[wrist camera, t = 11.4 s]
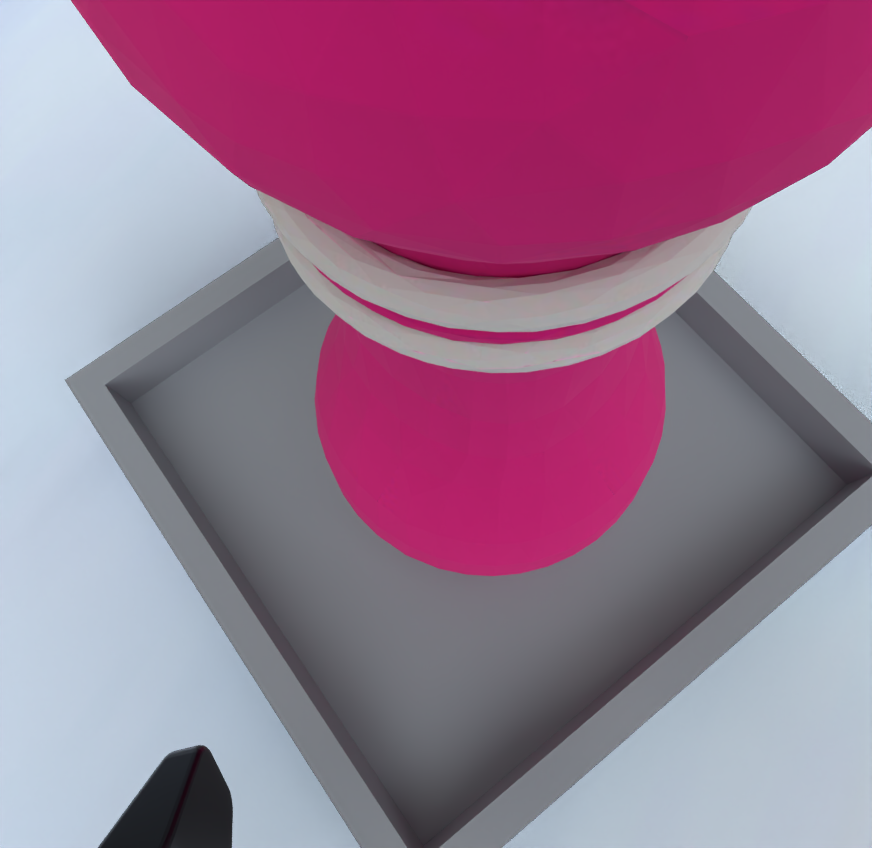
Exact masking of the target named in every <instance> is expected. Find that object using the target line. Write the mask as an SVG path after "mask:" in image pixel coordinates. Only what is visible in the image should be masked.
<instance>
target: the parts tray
mask: <svg viewBox="0 0 872 848" xmlns="http://www.w3.org/2000/svg"><path fill="white" fill-rule="evenodd" d="M334 316H335V313H334V312H333V311H332V310H331V309H330V308H329V307H327V306H326V305H325V304H324V303H323V302H322V301H321V300H320V299H319V298H318V297H316V296H315V295H314V293H313V292H312V291H311V290H310V289H309V287H308V286H307V285H306V284H305V282H304V281H303V280H302V279H301V277H300V276H299V274H298V273H297V271H296V270H295V268H294V267H293V265H292V264H291V262H290V260H289V258H288V256H287V254H286V251H285V249H284V247H283V245H282V243H281V241H280V239H279V238H277V239H276V240H274V241H273V242H271V243H270V244H268V245H267V246H265V247H264V248H262V249H261V250H259V251H258V252H256V253H255V254H253V255H252V256H250V257H249V258H247V259H246V260H244V261H243V262H241V263H240V264H238V265H237V266H235V267H234V268H232V269H231V270H229V271H228V272H226V273H225V274H223V275H222V276H220V277H219V278H217V279H216V280H214V281H213V282H211V283H210V284H208V285H207V286H205V287H204V288H202V289H201V290H199V291H198V292H196V293H195V294H193V295H192V296H190V297H189V298H187V299H186V300H184V301H183V302H181V303H180V304H178V305H177V306H175V307H174V308H172V309H171V310H169V311H168V312H166V313H165V314H163V315H162V316H160V317H159V318H157V319H156V320H154V321H153V322H151V323H150V324H148V325H147V326H145V327H144V328H142V329H141V330H139V331H138V332H136V333H135V334H133V335H132V336H130V337H129V338H127V339H126V340H124V341H123V342H121V343H120V344H118V345H117V346H115V347H114V348H112V349H111V350H109V351H108V352H106V353H105V354H103V355H102V356H100V357H99V358H97V359H96V360H94V361H93V362H91V363H90V364H88V365H87V366H85V367H84V368H82V369H81V370H79V371H78V372H76V373H75V374H73V375H72V376H70V377H69V378H67V379H66V380H65V381H66V383H67V385H68V386H69V388H70V389H71V391H72V392H73V394H74V396H75V397H76V399H77V400H78V402H79V403H80V405H81V407H82V408H83V410H84V411H85V413H86V414H87V416H88V418H89V419H90V421H91V422H92V424H93V426H94V427H95V429H96V430H97V432H98V433H99V435H100V437H101V438H102V440H103V441H104V443H105V444H106V446H107V448H108V449H109V451H110V452H111V454H112V456H113V457H114V459H115V460H116V462H117V463H118V465H119V467H120V468H121V470H122V471H123V473H124V474H125V476H126V478H127V479H128V481H129V482H130V484H131V486H132V487H133V489H134V490H135V492H136V493H137V495H138V497H139V498H140V500H141V501H142V503H143V504H144V506H145V508H146V509H147V511H148V512H149V514H150V516H151V517H152V519H153V520H154V522H155V523H156V525H157V527H158V528H159V530H160V531H161V533H162V534H163V536H164V538H165V539H166V541H167V542H168V544H169V545H170V547H171V549H172V550H173V552H174V553H175V555H176V557H177V558H178V560H179V561H180V563H181V564H182V566H183V568H184V569H185V571H186V572H187V574H188V575H189V577H190V579H191V580H192V582H193V583H194V585H195V587H196V588H197V590H198V591H199V593H200V594H201V596H202V598H203V599H204V601H205V602H206V604H207V605H208V607H209V609H210V610H211V612H212V613H213V615H214V617H215V618H216V620H217V621H218V623H219V624H220V626H221V628H222V629H223V631H224V632H225V634H226V635H227V637H228V639H229V640H230V642H231V643H232V645H233V646H234V648H235V650H236V651H237V653H238V654H239V656H240V658H241V659H242V661H243V662H244V664H245V665H246V667H247V669H248V670H249V672H250V673H251V675H252V676H253V678H254V680H255V681H256V683H257V684H258V686H259V688H260V689H261V691H262V692H263V694H264V695H265V697H266V699H267V700H268V702H269V703H270V705H271V706H272V708H273V710H274V711H275V713H276V714H277V716H278V718H279V719H280V721H281V722H282V724H283V725H284V727H285V729H286V730H287V732H288V733H289V735H290V736H291V738H292V740H293V741H294V743H295V744H296V746H297V747H298V749H299V751H300V752H301V754H302V755H303V757H304V759H305V760H306V762H307V763H308V765H309V766H310V768H311V770H312V771H313V773H314V774H315V776H316V777H317V779H318V781H319V782H320V784H321V785H322V787H323V789H324V790H325V792H326V793H327V795H328V796H329V798H330V800H331V801H332V803H333V804H334V806H335V807H336V809H337V811H338V812H339V814H340V815H341V817H342V819H343V820H344V822H345V823H346V825H347V826H348V828H349V830H350V831H351V833H352V834H353V836H354V837H355V839H356V841H357V842H358V844H359V845H360V847H361V848H502V847H503V846H504V845H505V844H506V843H508V842H509V841H510V840H511V839H512V838H513V837H514V836H516V835H517V834H518V833H519V832H520V831H521V830H522V829H524V828H525V827H526V826H527V825H528V824H529V823H530V822H532V821H533V820H534V819H535V818H536V817H537V816H538V815H540V814H541V813H542V812H543V811H544V810H545V809H547V808H548V807H549V806H550V805H551V804H552V803H553V802H555V801H556V800H557V799H558V798H559V797H560V796H561V795H563V794H564V793H565V792H566V791H567V790H568V789H569V788H571V787H572V786H573V785H574V784H575V783H576V782H577V781H579V780H580V779H581V778H582V777H583V776H584V775H586V774H587V773H588V772H589V771H590V770H591V769H592V768H594V767H595V766H596V765H597V764H598V763H599V762H600V761H602V760H603V759H604V758H605V757H606V756H607V755H608V754H610V753H611V752H612V751H613V750H614V749H615V748H616V747H618V746H619V745H620V744H621V743H622V742H623V741H625V740H626V739H627V738H628V737H629V736H630V735H631V734H633V733H634V732H635V731H636V730H637V729H638V728H639V727H641V726H642V725H643V724H644V723H645V722H646V721H647V720H649V719H650V718H651V717H652V716H653V715H654V714H655V713H657V712H658V711H659V710H660V709H661V708H662V707H664V706H665V705H666V704H667V703H668V702H669V701H670V700H672V699H673V698H674V697H675V696H676V695H677V694H678V693H680V692H681V691H682V690H683V689H684V688H685V687H686V686H688V685H689V684H690V683H691V682H692V681H693V680H695V679H696V678H697V677H698V676H699V675H700V674H701V673H703V672H704V671H705V670H706V669H707V668H708V667H709V666H711V665H712V664H713V663H714V662H715V661H716V660H717V659H719V658H720V657H721V656H722V655H723V654H724V653H725V652H727V651H728V650H729V649H730V648H731V647H732V646H734V645H735V644H736V643H737V642H738V641H739V640H740V639H742V638H743V637H744V636H745V635H746V634H747V633H748V632H750V631H751V630H752V629H753V628H754V627H755V626H756V625H758V624H759V623H760V622H761V621H762V620H763V619H764V618H766V617H767V616H768V615H769V614H770V613H771V612H773V611H774V610H775V609H776V608H777V607H778V606H779V605H781V604H782V603H783V602H784V601H785V600H786V599H787V598H789V597H790V596H791V595H792V594H793V593H794V592H795V591H797V590H798V589H799V588H800V587H801V586H802V585H803V584H805V583H806V582H807V581H808V580H809V579H810V578H812V577H813V576H814V575H815V574H816V573H817V572H818V571H820V570H821V569H822V568H823V567H824V566H825V565H826V564H828V563H829V562H830V561H831V560H832V559H833V558H834V557H836V556H837V555H838V554H839V553H840V552H841V551H842V550H844V549H845V548H846V547H847V546H848V545H849V544H851V543H852V542H853V541H854V540H855V539H856V538H857V537H859V536H860V535H861V534H862V533H863V532H864V531H865V530H867V529H868V528H869V527H870V526H871V525H872V422H871V421H870V420H869V419H867V418H866V417H865V416H864V415H863V414H862V413H861V412H860V411H859V410H858V409H857V408H856V407H855V406H854V405H853V404H852V403H851V402H850V401H849V400H848V399H847V398H846V397H845V396H844V395H843V394H842V393H840V392H839V391H838V390H837V389H836V388H835V387H834V386H833V385H832V384H831V383H830V382H829V381H828V380H827V379H826V378H825V377H824V376H823V375H822V374H821V373H820V372H819V371H818V370H817V369H816V368H814V367H813V366H812V365H811V364H810V363H809V362H808V361H807V360H806V359H805V358H804V357H803V356H802V355H801V354H800V353H799V352H798V351H797V350H796V349H795V348H794V347H793V346H792V345H791V344H790V343H789V342H787V341H786V340H785V339H784V338H783V337H782V336H781V335H780V334H779V333H778V332H777V331H776V330H775V329H774V328H773V327H772V326H771V325H770V324H769V323H768V322H767V321H766V320H765V319H764V318H763V317H762V316H760V315H759V314H758V313H757V312H756V311H755V310H754V309H753V308H752V307H751V306H750V305H749V304H748V303H747V302H746V301H745V300H744V299H743V298H742V297H741V296H740V295H739V294H738V293H737V292H736V291H734V290H733V289H732V288H731V287H730V286H729V285H728V284H727V283H726V282H725V281H724V280H723V279H722V278H721V277H720V276H719V275H718V274H717V273H716V272H715V271H714V270H713V272H712V273H711V274H710V275H709V277H708V278H707V279H706V280H705V282H704V283H703V284H702V286H701V287H700V288H699V289H698V291H697V292H696V293H695V294H694V295H693V296H691V297H690V298H689V299H688V300H687V301H686V302H685V303H684V304H682V305H681V306H680V307H679V308H678V309H677V310H676V311H675V312H674V313H672V314H671V315H670V316H669V317H667V318H666V319H664V320H663V321H662V322H660V323H659V324H658V325H656V326H655V328H656V332H657V335H658V338H659V341H660V344H661V348H662V353H663V358H664V364H665V399H666V411H665V418H664V425H663V432H662V437H661V440H660V443H659V446H658V449H657V453H656V456H655V459H654V462H653V464H652V465H651V467H650V469H649V471H648V473H647V475H646V477H645V479H644V480H643V482H642V484H641V486H640V488H639V490H638V492H637V494H636V496H635V497H634V499H633V501H632V502H631V503H630V505H629V506H628V507H627V509H626V510H625V511H624V513H623V514H622V515H621V516H620V518H619V519H618V520H617V522H616V523H615V524H613V525H612V526H611V527H610V528H609V529H608V530H607V531H606V532H605V533H604V534H603V535H602V536H600V537H599V538H598V539H597V540H596V541H594V542H593V543H591V544H590V545H588V546H587V547H585V548H584V549H582V550H581V551H579V552H578V553H576V554H575V555H573V556H571V557H568V558H566V559H564V560H562V561H559V562H557V563H555V564H552V565H550V566H548V567H544V568H540V569H536V570H533V571H529V572H525V573H521V574H511V575H501V576H480V575H466V574H461V573H457V572H452V571H447V570H443V569H438V568H436V567H434V566H431V565H429V564H426V563H424V562H421V561H419V560H416V559H414V558H411V557H409V556H406V555H405V554H404V553H402V552H401V551H399V550H398V549H396V548H395V547H393V546H392V545H391V544H389V543H388V542H386V541H385V540H383V539H382V538H381V537H379V536H378V535H377V534H376V533H375V532H374V531H373V530H372V529H371V528H370V527H369V526H368V525H367V524H366V523H365V522H364V521H363V520H362V519H361V518H360V517H359V516H358V515H357V514H356V512H355V511H354V509H353V508H352V507H351V505H350V504H349V502H348V501H347V500H346V498H345V497H344V495H343V493H342V491H341V489H340V487H339V485H338V483H337V481H336V479H335V476H334V474H333V472H332V470H331V468H330V466H329V464H328V462H327V459H326V457H325V454H324V450H323V447H322V444H321V441H320V437H319V434H318V428H317V418H316V409H315V390H316V379H317V371H318V364H319V357H320V350H321V347H322V344H323V341H324V338H325V335H326V332H327V329H328V326H329V325H330V323H331V321H332V319H333V318H334Z"/></svg>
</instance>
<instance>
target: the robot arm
mask: <svg viewBox="0 0 872 848" xmlns="http://www.w3.org/2000/svg"><path fill="white" fill-rule="evenodd" d="M232 818H233V807H232V798H231V794H230V790H229V788H228V786H227V784H226V782H225V780H224V778H223V776H222V774H221V772H220V770H219V768H218V766H217V764H216V762H215V760H214V758H213V756H212V753H211V752H210V750H209V749H208V748H207V747H206V746H203V745H198V746H194V747H190V748H185V749H181V750H177V751H173V752H171V753H169V754H168V755H167V756H166V757H165V758H164V759H163V760H162V762H161V763H160V764H159V766H158V767H157V768H156V770H155V771H154V772H153V774H152V775H151V777H150V778H149V779H148V781H147V782H146V783H145V785H144V786H143V787H142V789H141V790H140V791H139V793H138V794H137V795H136V797H135V798H134V800H133V801H132V802H131V804H130V805H129V806H128V808H127V809H126V810H125V812H124V813H123V814H122V816H121V817H120V818H119V820H118V821H117V822H116V824H115V825H114V827H113V828H112V829H111V831H110V832H109V833H108V835H107V836H106V837H105V839H104V840H103V841H102V843H101V844H100V845H99V847H98V848H232Z"/></svg>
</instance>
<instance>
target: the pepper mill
mask: <svg viewBox="0 0 872 848" xmlns="http://www.w3.org/2000/svg"><path fill="white" fill-rule="evenodd" d="M71 1H72V3H73V4H74V6H75V7H76V8H77V10H78V11H79V13H80V14H81V15H82V17H83V18H84V19H85V21H86V22H87V24H88V25H89V26H90V28H91V29H92V31H93V32H94V33H95V35H96V36H97V38H98V39H99V40H100V42H101V43H102V45H103V46H104V47H105V49H106V50H107V52H108V53H109V54H110V56H111V57H112V59H113V60H114V61H115V63H116V64H117V66H118V67H119V68H120V70H121V71H122V73H123V74H124V75H125V77H126V78H127V80H128V81H129V82H130V84H131V85H132V86H133V87H134V88H135V89H136V90H137V91H139V92H140V93H141V94H142V95H143V96H144V97H146V98H147V99H148V100H149V101H150V102H151V103H152V104H154V105H155V106H156V107H157V108H158V109H159V110H160V111H162V112H163V113H164V114H165V115H166V116H167V117H168V118H170V119H171V120H172V121H173V122H174V123H175V124H177V125H178V126H179V127H180V128H181V129H182V130H183V131H185V132H186V133H187V134H188V135H189V136H190V137H191V138H193V139H194V140H195V141H196V142H197V143H198V144H199V145H201V146H202V147H203V148H204V149H205V150H206V151H208V152H209V153H210V154H211V155H212V156H213V157H214V158H216V159H217V160H218V161H219V162H220V163H221V164H222V165H224V166H225V167H226V168H227V169H228V170H229V171H230V172H232V173H233V174H234V175H236V176H237V177H238V178H240V179H241V180H242V181H244V182H245V183H246V184H248V185H249V186H250V187H252V188H254V189H256V191H257V193H258V195H259V197H260V200H261V202H262V204H263V205H264V207H265V208H266V210H267V211H268V213H269V214H270V216H271V217H272V219H273V222H274V225H275V229H276V232H277V234H278V237H279V239H280V241H281V243H282V245H283V247H284V249H285V251H286V254H287V256H288V258H289V260H290V262H291V264H292V265H293V267H294V268H295V270H296V271H297V273H298V274H299V276H300V277H301V279H302V280H303V281H304V282H305V284H306V285H307V286H308V287H309V289H310V290H311V291H312V292H313V293H314V295H315V296H316V297H318V298H319V299H320V300H321V301H322V302H323V303H324V304H325V305H326V306H327V307H329V308H330V309H331V310H332V311H333V312H334V313H335V316H334V318H333V319H332V321H331V323H330V325H329V326H328V329H327V332H326V335H325V338H324V341H323V344H322V347H321V350H320V357H319V364H318V371H317V379H316V390H315V409H316V418H317V428H318V434H319V437H320V441H321V444H322V447H323V450H324V454H325V457H326V459H327V462H328V464H329V466H330V468H331V470H332V472H333V474H334V476H335V479H336V481H337V483H338V485H339V487H340V489H341V491H342V493H343V495H344V497H345V498H346V500H347V501H348V502H349V504H350V505H351V507H352V508H353V509H354V511H355V512H356V514H357V515H358V516H359V517H360V518H361V519H362V520H363V521H364V522H365V523H366V524H367V525H368V526H369V527H370V528H371V529H372V530H373V531H374V532H375V533H376V534H377V535H378V536H379V537H381V538H382V539H383V540H385V541H386V542H388V543H389V544H391V545H392V546H393V547H395V548H396V549H398V550H399V551H401V552H402V553H404V554H405V555H406V556H409V557H411V558H414V559H416V560H419V561H421V562H424V563H426V564H429V565H431V566H434V567H436V568H438V569H443V570H447V571H452V572H457V573H461V574H466V575H480V576H501V575H511V574H521V573H525V572H529V571H533V570H536V569H540V568H544V567H548V566H550V565H552V564H555V563H557V562H559V561H562V560H564V559H566V558H568V557H571V556H573V555H575V554H576V553H578V552H579V551H581V550H582V549H584V548H585V547H587V546H588V545H590V544H591V543H593V542H594V541H596V540H597V539H598V538H599V537H600V536H602V535H603V534H604V533H605V532H606V531H607V530H608V529H609V528H610V527H611V526H612V525H613V524H615V523H616V522H617V520H618V519H619V518H620V516H621V515H622V514H623V513H624V511H625V510H626V509H627V507H628V506H629V505H630V503H631V502H632V501H633V499H634V497H635V496H636V494H637V492H638V490H639V488H640V486H641V484H642V482H643V480H644V479H645V477H646V475H647V473H648V471H649V469H650V467H651V465H652V464H653V462H654V459H655V456H656V453H657V449H658V446H659V443H660V440H661V437H662V432H663V425H664V418H665V411H666V399H665V364H664V358H663V353H662V348H661V344H660V341H659V338H658V335H657V332H656V328H655V326H656V325H658V324H659V323H660V322H662V321H663V320H664V319H666V318H667V317H669V316H670V315H671V314H672V313H674V312H675V311H676V310H677V309H678V308H679V307H680V306H681V305H682V304H684V303H685V302H686V301H687V300H688V299H689V298H690V297H691V296H693V295H694V294H695V293H696V292H697V291H698V289H699V288H700V287H701V286H702V284H703V283H704V282H705V280H706V279H707V278H708V277H709V275H710V274H711V273H712V272H713V270H714V269H715V267H716V266H717V264H718V262H719V260H720V259H721V257H722V255H723V253H724V252H725V250H726V248H727V247H728V245H729V242H730V240H731V237H732V235H733V233H734V232H735V231H736V230H737V229H738V228H739V227H740V225H741V224H742V223H743V221H744V220H745V218H746V216H747V215H748V213H749V211H750V210H751V208H752V206H753V205H755V204H757V203H759V202H760V201H762V200H764V199H766V198H768V197H770V196H771V195H773V194H775V193H777V192H779V191H781V190H783V189H784V188H786V187H788V186H790V185H792V184H794V183H795V182H797V181H799V180H801V179H803V178H805V177H807V176H808V175H810V174H812V173H814V172H816V171H818V170H819V169H821V168H823V167H825V166H827V165H828V164H829V163H831V162H832V161H833V160H834V159H835V158H836V157H838V156H839V155H840V154H841V153H842V152H843V151H845V150H846V149H847V148H848V147H849V146H850V145H851V144H853V143H854V142H855V141H856V140H857V139H858V138H860V137H861V136H862V135H863V134H864V133H865V132H866V131H868V130H869V129H870V128H871V127H872V0H71Z"/></svg>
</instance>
